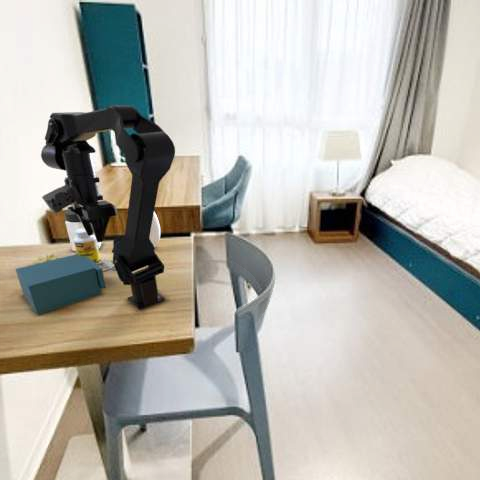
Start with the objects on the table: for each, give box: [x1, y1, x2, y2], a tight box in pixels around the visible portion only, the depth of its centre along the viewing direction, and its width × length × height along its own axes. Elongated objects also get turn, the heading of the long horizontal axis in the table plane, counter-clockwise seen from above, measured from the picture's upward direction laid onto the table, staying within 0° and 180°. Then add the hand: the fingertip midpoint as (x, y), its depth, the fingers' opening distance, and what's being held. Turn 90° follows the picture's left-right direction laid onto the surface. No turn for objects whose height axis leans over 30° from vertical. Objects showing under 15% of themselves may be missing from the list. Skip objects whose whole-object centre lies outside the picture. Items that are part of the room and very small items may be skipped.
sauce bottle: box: [149, 211, 161, 248], centre depth 112 cm, size 8×8×18 cm
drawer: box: [82, 256, 117, 290], centre depth 89 cm, size 17×10×5 cm, turn 134°
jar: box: [63, 208, 102, 252], centre depth 113 cm, size 9×8×12 cm
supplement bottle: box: [74, 228, 102, 263], centre depth 102 cm, size 6×6×10 cm
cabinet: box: [15, 253, 101, 316], centre depth 86 cm, size 14×12×7 cm
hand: (95, 238), depth 89 cm, fingers open, 6 cm apart
